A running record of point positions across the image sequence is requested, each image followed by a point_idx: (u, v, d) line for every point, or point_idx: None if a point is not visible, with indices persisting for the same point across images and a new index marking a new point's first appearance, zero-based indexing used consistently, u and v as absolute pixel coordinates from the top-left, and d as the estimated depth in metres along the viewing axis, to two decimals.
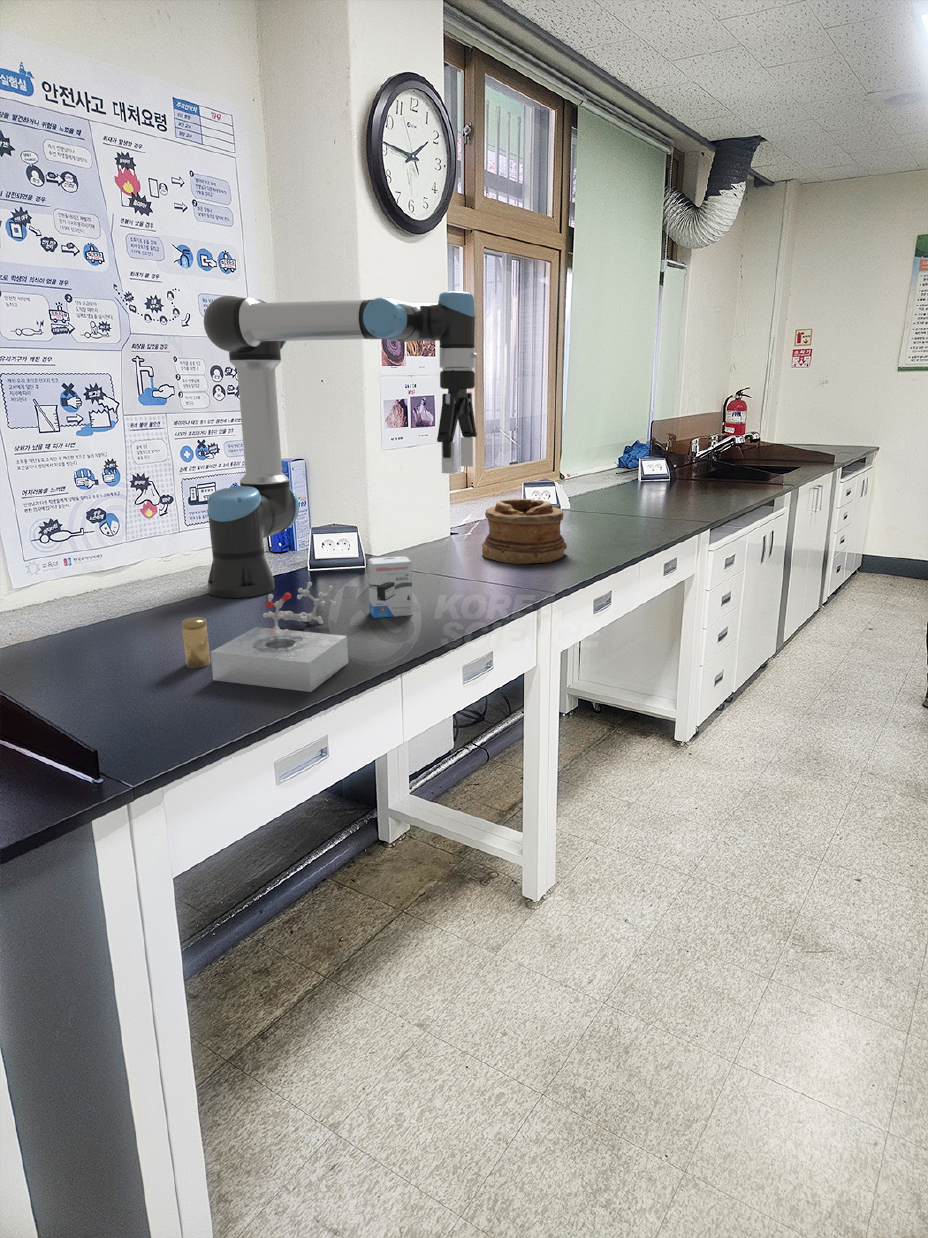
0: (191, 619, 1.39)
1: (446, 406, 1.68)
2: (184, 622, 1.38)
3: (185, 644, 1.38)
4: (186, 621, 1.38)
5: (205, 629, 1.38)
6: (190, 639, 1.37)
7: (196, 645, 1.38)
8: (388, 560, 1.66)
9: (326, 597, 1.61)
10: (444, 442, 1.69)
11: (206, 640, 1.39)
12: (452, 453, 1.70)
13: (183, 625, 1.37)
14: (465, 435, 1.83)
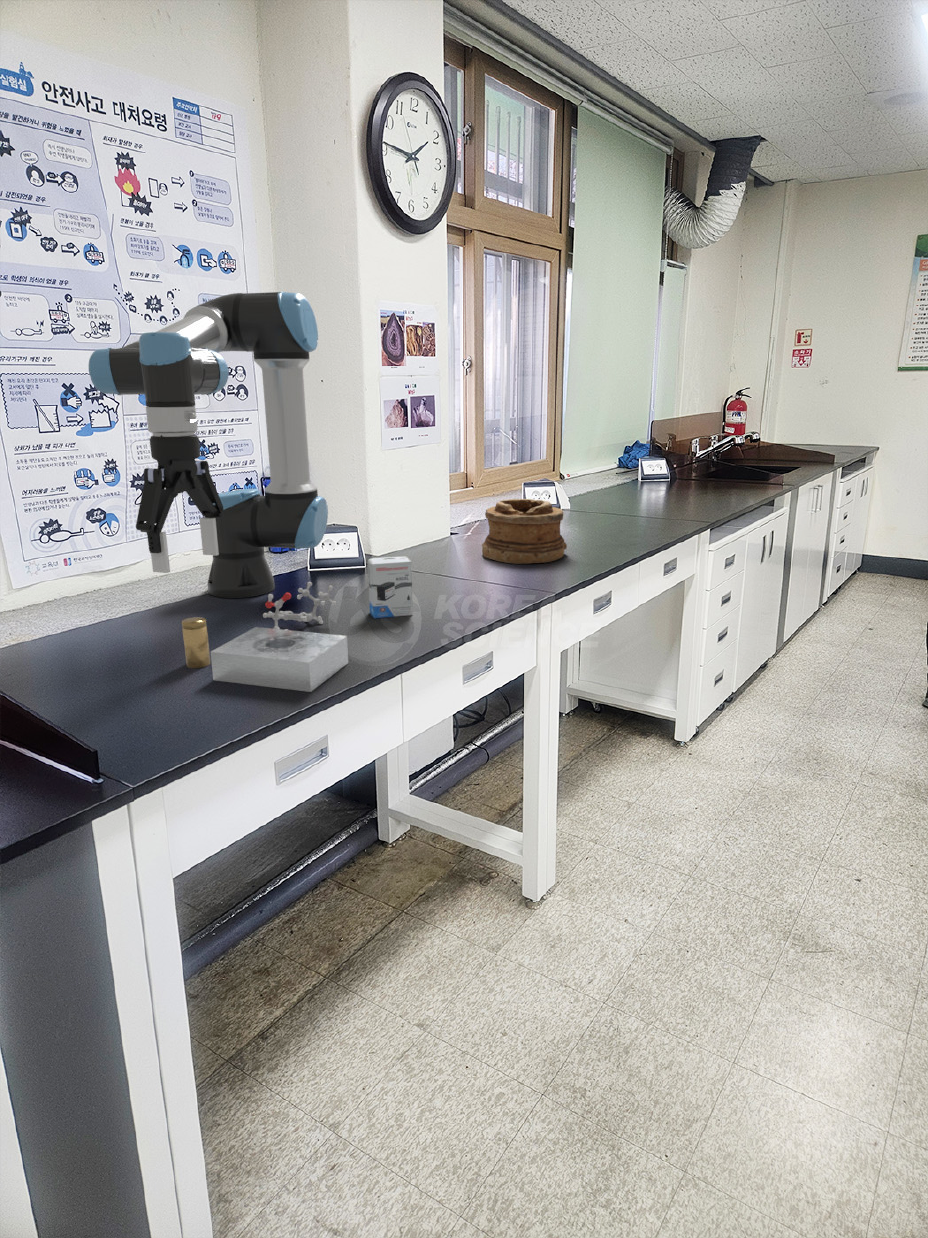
0: (191, 619, 1.39)
1: (149, 485, 1.25)
2: (184, 622, 1.38)
3: (185, 644, 1.38)
4: (186, 621, 1.38)
5: (205, 629, 1.38)
6: (190, 639, 1.37)
7: (196, 645, 1.38)
8: (388, 560, 1.66)
9: (326, 597, 1.61)
10: (148, 533, 1.26)
11: (206, 640, 1.39)
12: (162, 547, 1.27)
13: (183, 625, 1.37)
14: (206, 515, 1.40)
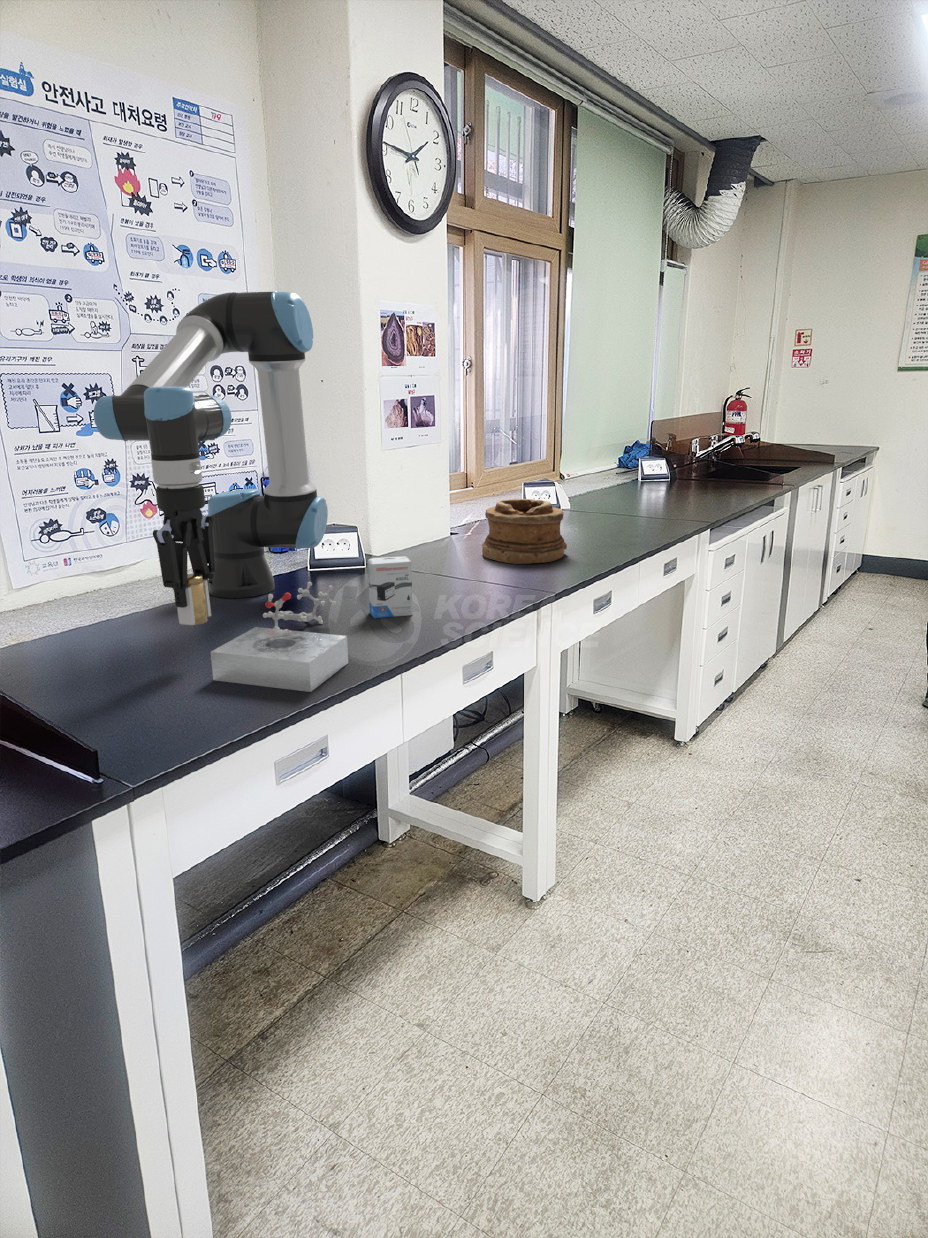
0: (187, 575, 1.37)
1: (162, 547, 1.29)
2: None
3: None
4: None
5: (201, 585, 1.37)
6: None
7: (193, 602, 1.36)
8: (388, 560, 1.66)
9: (326, 597, 1.61)
10: (175, 589, 1.33)
11: (203, 597, 1.37)
12: (188, 601, 1.35)
13: None
14: None
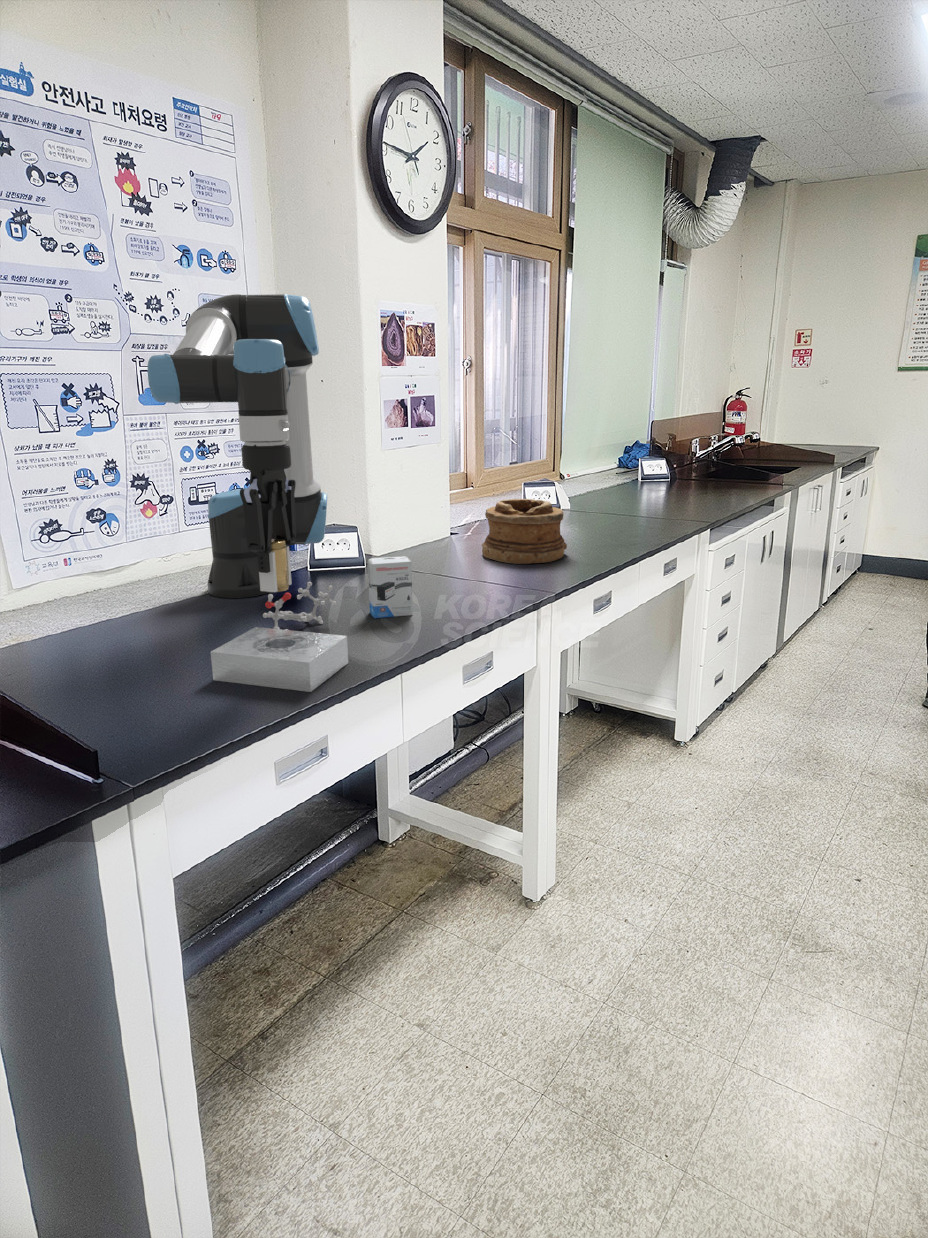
0: None
1: (249, 507, 1.23)
2: None
3: None
4: None
5: (284, 550, 1.30)
6: None
7: (276, 567, 1.30)
8: (388, 560, 1.66)
9: (326, 597, 1.61)
10: (259, 553, 1.27)
11: (285, 563, 1.31)
12: (271, 566, 1.29)
13: None
14: None
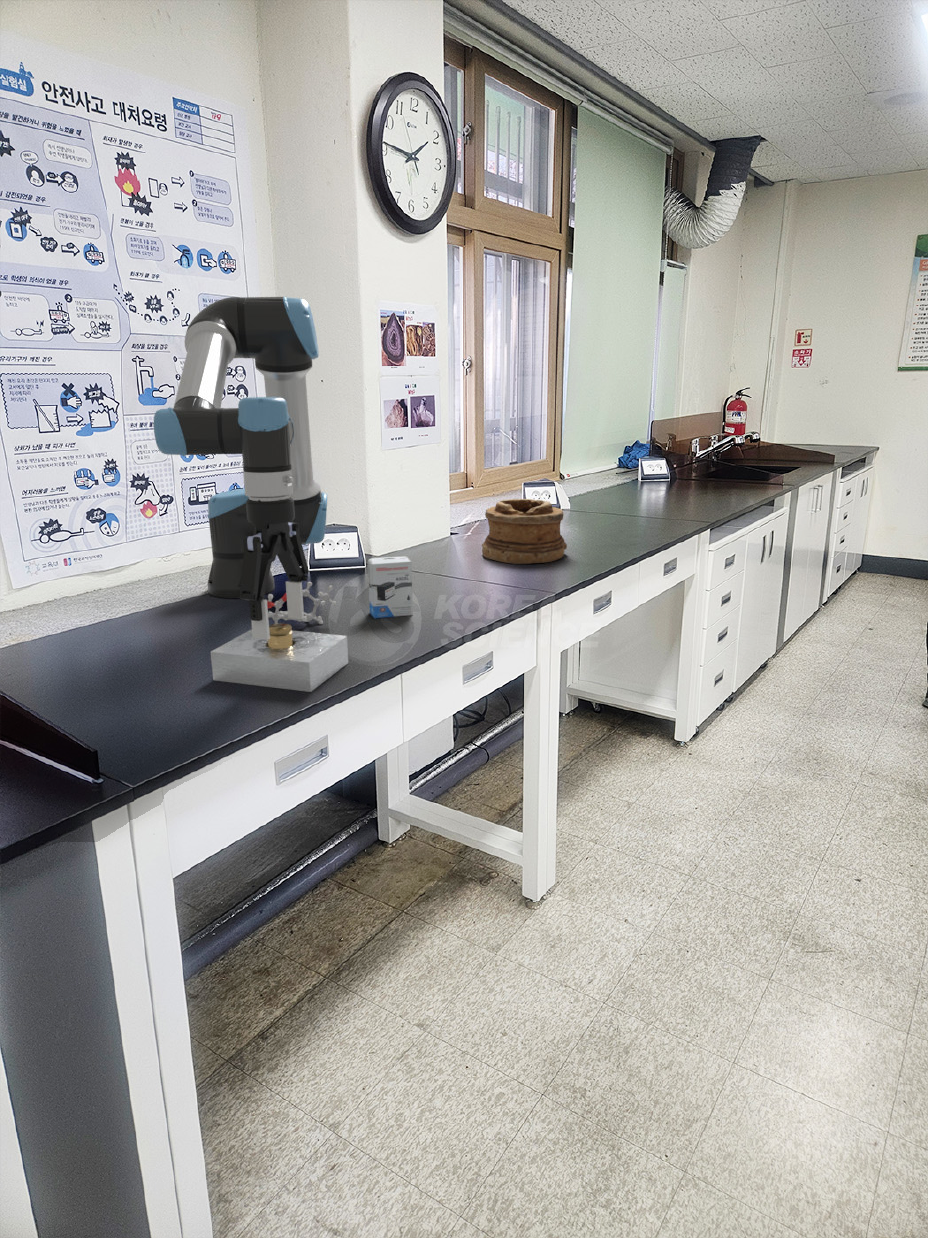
0: (276, 625, 1.35)
1: (249, 554, 1.24)
2: (270, 628, 1.34)
3: None
4: (272, 627, 1.34)
5: (290, 636, 1.35)
6: (276, 646, 1.34)
7: None
8: (388, 560, 1.66)
9: (326, 597, 1.61)
10: (251, 601, 1.26)
11: None
12: (264, 614, 1.28)
13: None
14: (292, 579, 1.39)
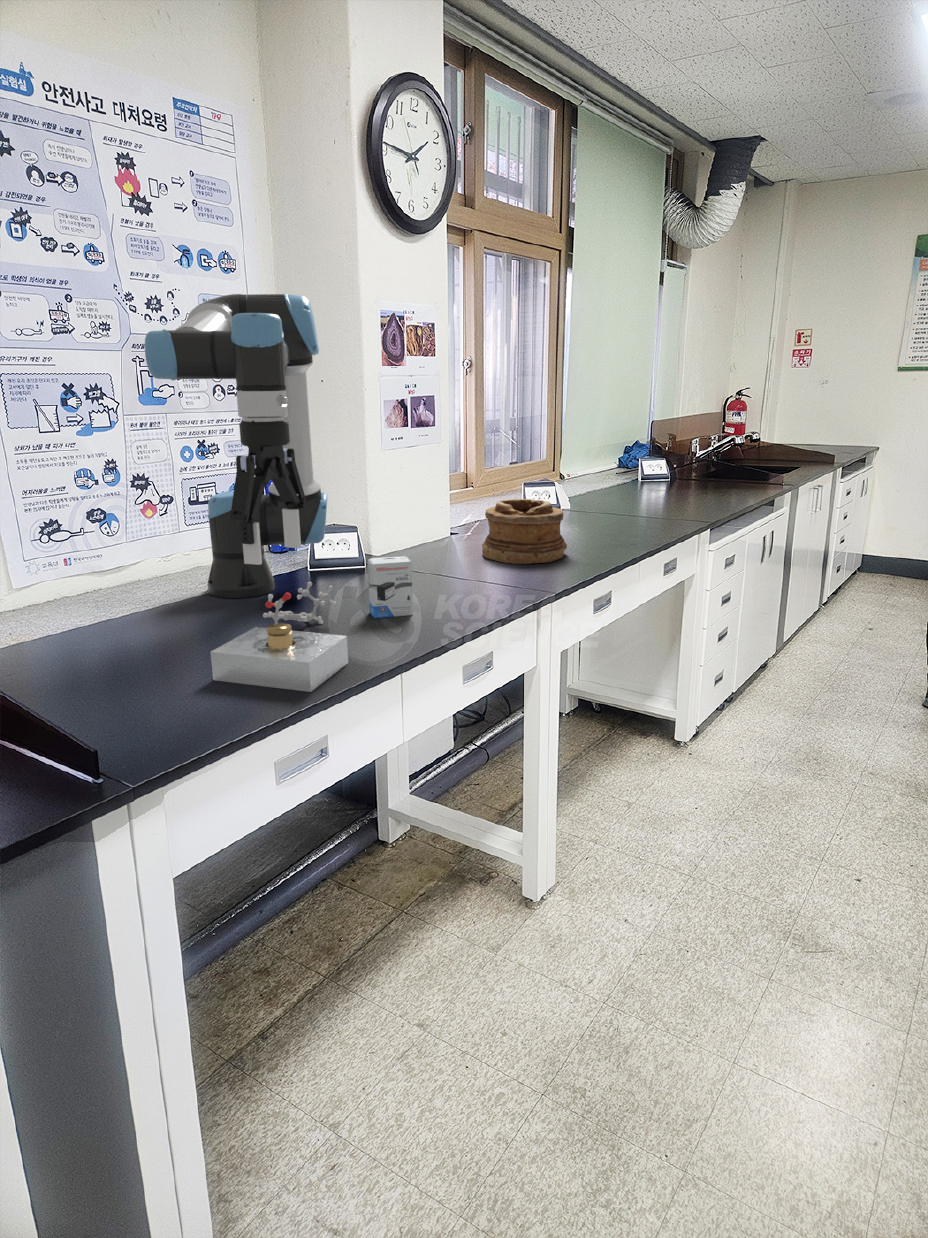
0: (276, 625, 1.35)
1: (242, 473, 1.21)
2: (270, 628, 1.34)
3: None
4: (271, 627, 1.34)
5: (290, 636, 1.35)
6: (276, 646, 1.34)
7: None
8: (388, 560, 1.66)
9: (326, 597, 1.61)
10: (242, 523, 1.22)
11: None
12: (255, 538, 1.23)
13: (269, 632, 1.33)
14: (289, 506, 1.35)
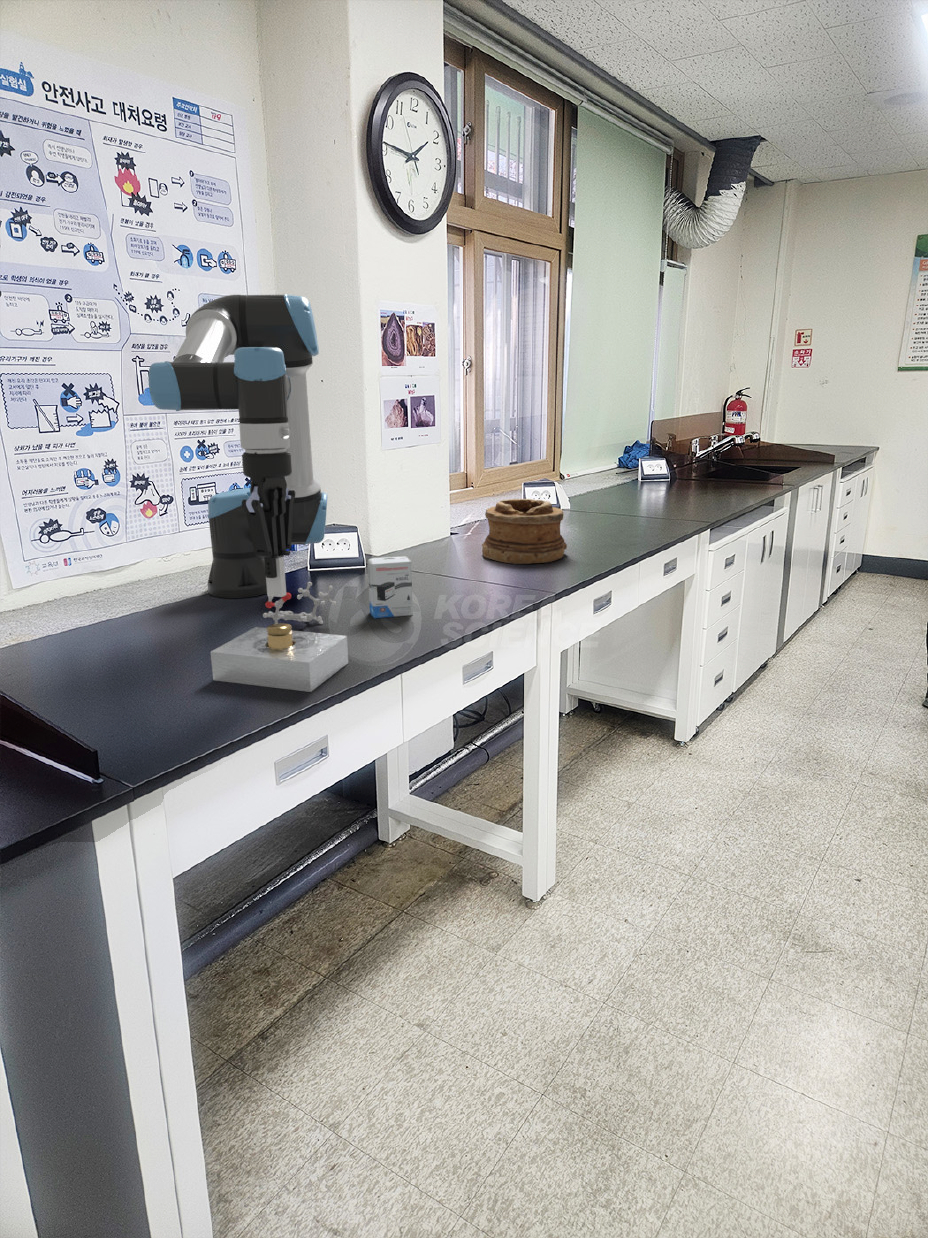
0: (276, 625, 1.35)
1: (252, 516, 1.24)
2: (270, 628, 1.34)
3: None
4: (272, 627, 1.34)
5: (290, 636, 1.35)
6: (276, 646, 1.34)
7: None
8: (388, 560, 1.66)
9: (326, 597, 1.61)
10: (266, 559, 1.29)
11: None
12: (278, 572, 1.31)
13: (269, 631, 1.34)
14: None
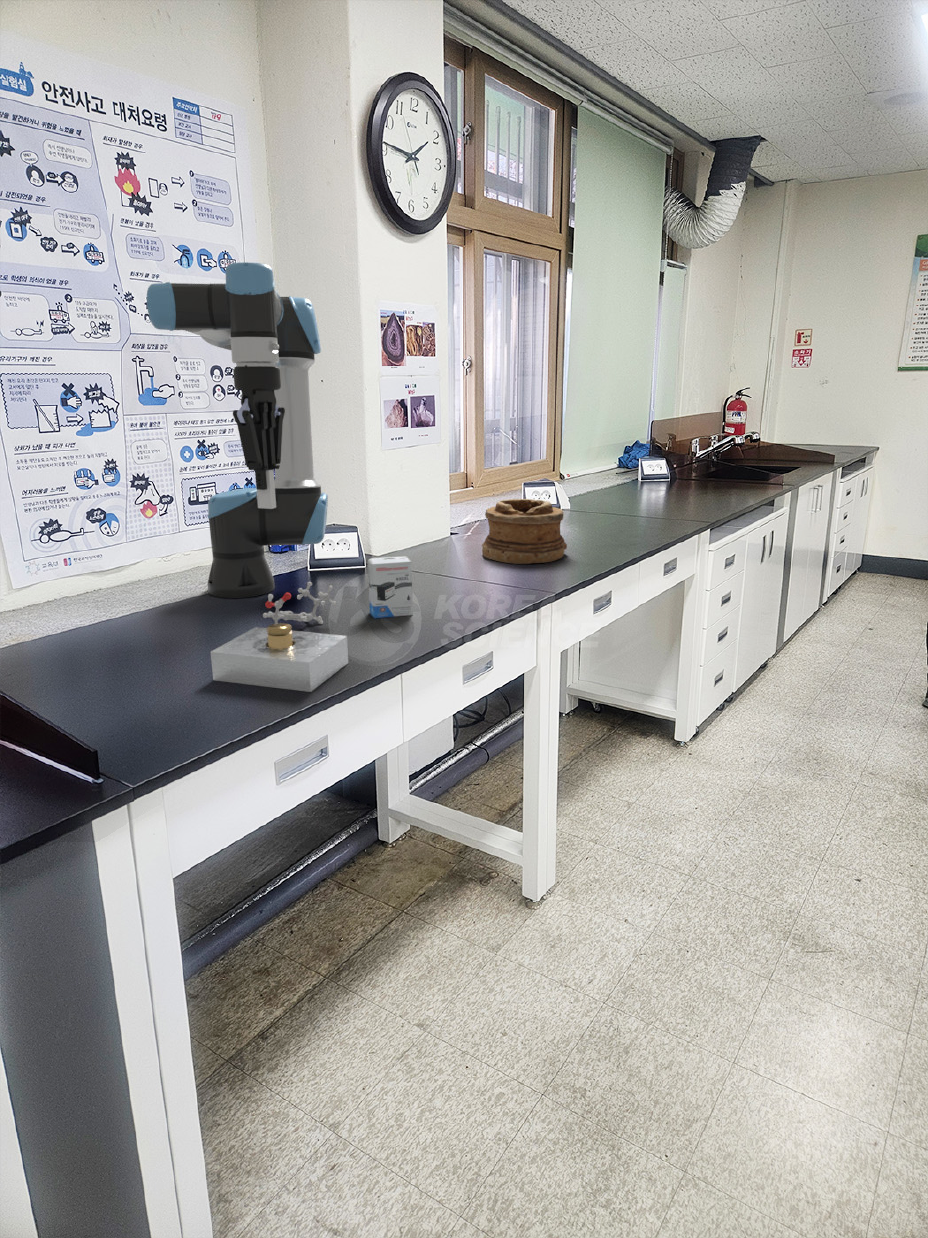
0: (276, 625, 1.35)
1: (243, 427, 1.30)
2: (270, 628, 1.34)
3: None
4: (272, 627, 1.34)
5: (290, 636, 1.35)
6: (276, 646, 1.34)
7: None
8: (388, 560, 1.66)
9: (326, 597, 1.61)
10: (256, 470, 1.36)
11: None
12: (268, 484, 1.37)
13: (269, 631, 1.34)
14: None
